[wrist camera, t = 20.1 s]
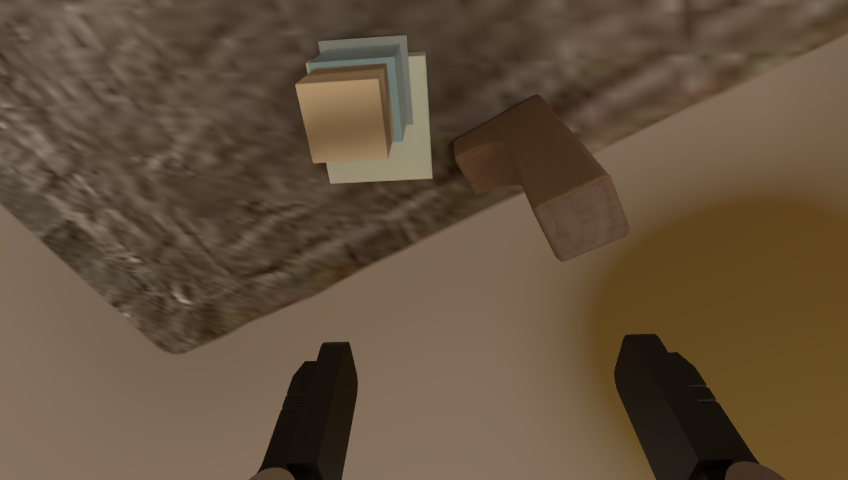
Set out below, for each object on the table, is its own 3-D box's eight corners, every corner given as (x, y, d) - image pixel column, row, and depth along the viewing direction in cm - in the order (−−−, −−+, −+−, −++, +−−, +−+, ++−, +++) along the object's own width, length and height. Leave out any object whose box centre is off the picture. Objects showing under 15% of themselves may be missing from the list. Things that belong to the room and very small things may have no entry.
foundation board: (307, 38, 35) (300, 42, 33) (424, 30, 34) (423, 34, 33) (334, 175, 42) (330, 183, 40) (432, 170, 41) (432, 178, 40)
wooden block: (472, 177, 42) (493, 293, 27) (451, 140, 40) (461, 243, 25) (556, 134, 39) (634, 235, 24) (539, 91, 37) (611, 174, 22)
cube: (327, 49, 33) (308, 63, 28) (400, 44, 33) (394, 56, 28) (340, 122, 37) (325, 146, 32) (407, 118, 36) (402, 141, 31)
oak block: (315, 68, 29) (295, 84, 24) (386, 63, 28) (378, 78, 24) (329, 137, 31) (313, 163, 27) (394, 133, 31) (387, 158, 27)
